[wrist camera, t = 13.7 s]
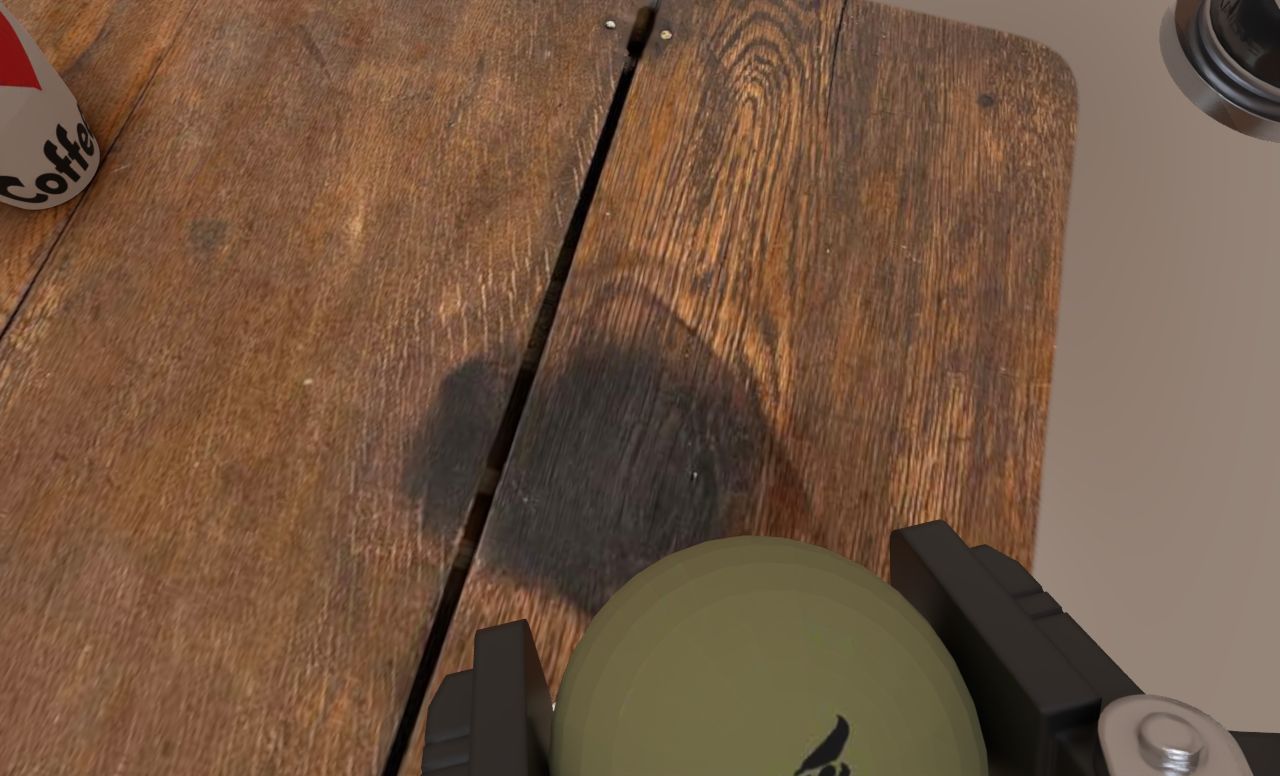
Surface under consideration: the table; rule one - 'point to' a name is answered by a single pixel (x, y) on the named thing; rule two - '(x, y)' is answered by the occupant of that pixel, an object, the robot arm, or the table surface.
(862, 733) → the light bulb
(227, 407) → the table surface
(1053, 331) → the table surface
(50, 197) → the cup
